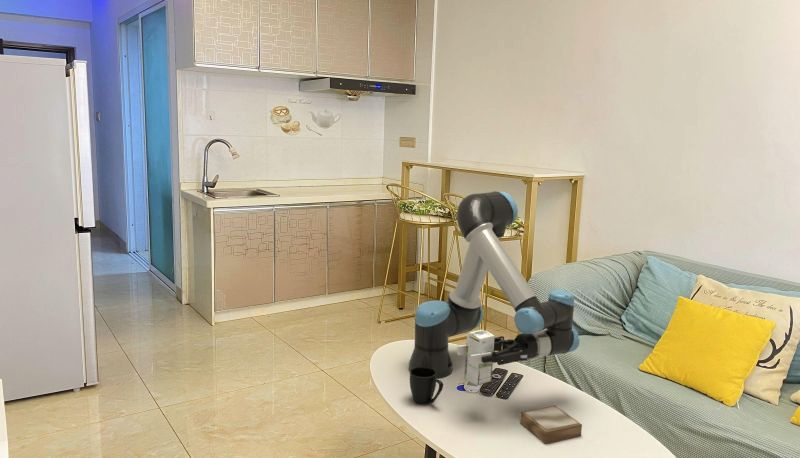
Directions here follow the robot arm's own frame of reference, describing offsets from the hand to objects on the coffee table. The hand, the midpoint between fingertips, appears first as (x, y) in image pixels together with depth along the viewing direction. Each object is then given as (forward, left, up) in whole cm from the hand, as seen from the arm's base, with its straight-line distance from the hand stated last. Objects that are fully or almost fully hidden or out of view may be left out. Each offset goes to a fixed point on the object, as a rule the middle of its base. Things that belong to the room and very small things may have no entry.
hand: (464, 355), depth 172 cm
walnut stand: (+14, +21, -20) cm, 32 cm away
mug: (-13, -5, -20) cm, 25 cm away
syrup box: (0, +5, -9) cm, 10 cm away
